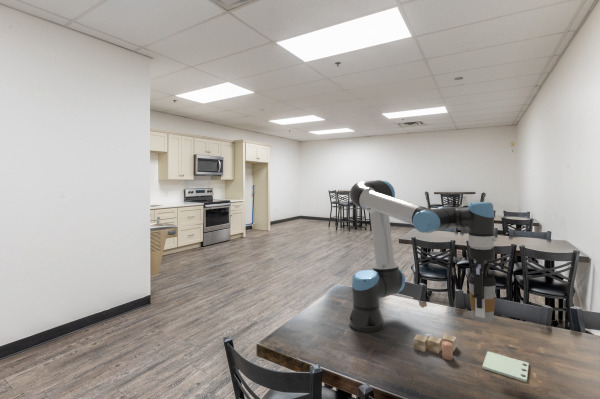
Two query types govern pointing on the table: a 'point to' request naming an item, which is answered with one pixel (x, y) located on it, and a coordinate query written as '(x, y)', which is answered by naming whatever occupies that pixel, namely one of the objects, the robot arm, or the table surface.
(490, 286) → the coffee cup
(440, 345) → the maple cube
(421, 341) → the maple cube
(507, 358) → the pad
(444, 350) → the pink rounded piece
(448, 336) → the maple cube
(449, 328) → the table surface
